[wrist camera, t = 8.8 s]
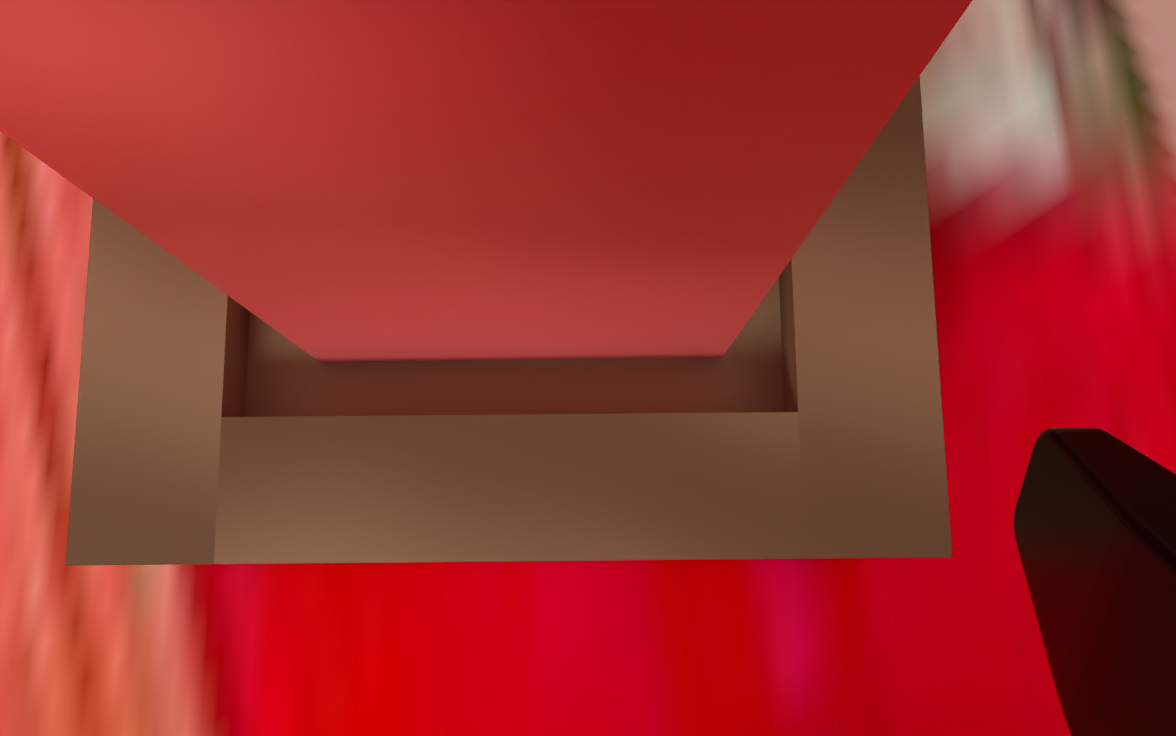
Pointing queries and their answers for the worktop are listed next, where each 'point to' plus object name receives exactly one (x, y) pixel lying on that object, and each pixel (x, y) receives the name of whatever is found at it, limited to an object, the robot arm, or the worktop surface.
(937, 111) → the worktop surface
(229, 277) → the red brick
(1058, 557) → the robot arm
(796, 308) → the walnut base
